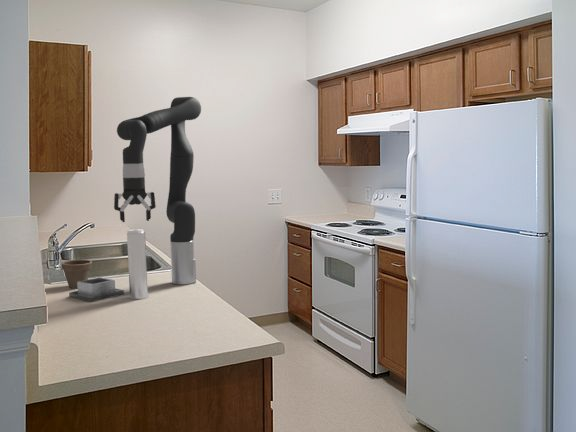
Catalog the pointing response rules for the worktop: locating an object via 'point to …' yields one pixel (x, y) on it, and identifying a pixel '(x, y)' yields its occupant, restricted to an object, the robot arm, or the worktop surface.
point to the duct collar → (96, 289)
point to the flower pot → (76, 271)
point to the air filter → (137, 264)
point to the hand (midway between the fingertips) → (135, 221)
